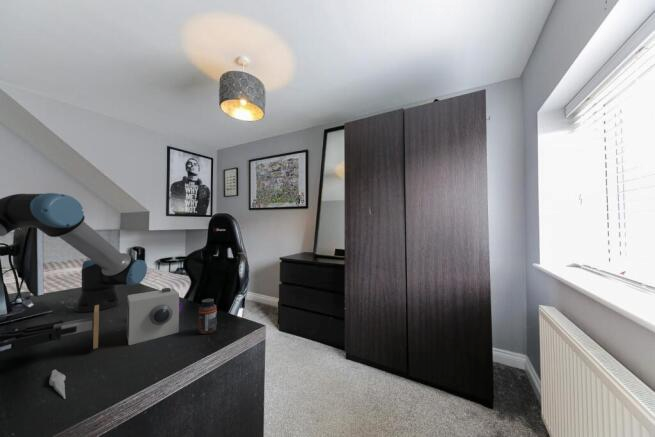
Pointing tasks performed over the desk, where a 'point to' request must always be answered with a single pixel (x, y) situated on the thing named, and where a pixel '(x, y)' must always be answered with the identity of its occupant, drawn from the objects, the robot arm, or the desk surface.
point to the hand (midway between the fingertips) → (92, 323)
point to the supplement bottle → (207, 317)
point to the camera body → (152, 315)
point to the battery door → (94, 325)
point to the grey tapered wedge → (58, 382)
